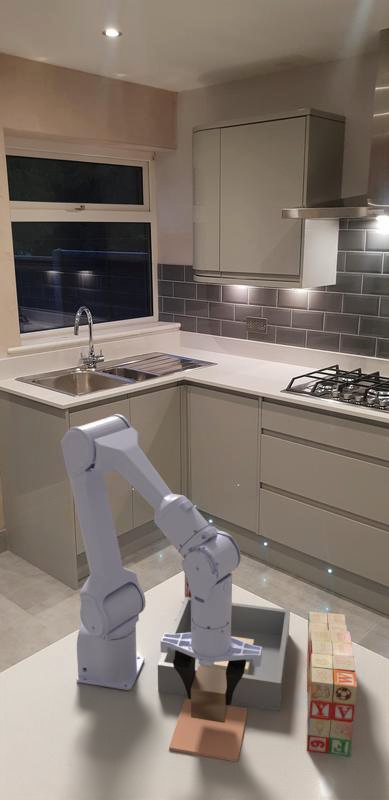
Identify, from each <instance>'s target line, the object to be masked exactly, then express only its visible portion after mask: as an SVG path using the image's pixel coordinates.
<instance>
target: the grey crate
mask: <svg viewBox="0 0 389 800" xmlns="http://www.w3.org/2000/svg"><path fill="white" fill-rule="evenodd" d="M290 615H291V610H290V609H283V608H276V607H267V606H259V605H253V604H245V603H237V602H232V612H231V637H233V638H236V639H238V640H241V641H243V642H246V643H248V644H251V645H255V646H260V647H262V659H261V664H260V667H257V666H253V663H251V662H246V666H245V671H244V674H243V676H242V678H241V680H240V681H239V682H238V684H237V686H236V688H235V690H234V692H233V697H232V702H231V704H234V705H235V704H236V705H240V706H241V705H242V706H247V707H248V706H249V707H255V708H261V709H267V710H271V711H272V710H273V711H280V709H281V702H282V701H281V700H282V692H283V685H284V677H285V669H286V668H285V667H286V660H287V659H286V658H287V651H288V645H289V636H290V619H291V616H290ZM179 633H191V597H185V596H184V599H183V602H182V604H181V606H180V609H179V611H178V614H177V617H176V619H175V621H174V624H173V626H172V629H171V631H170V633H169V634H179ZM174 658H175V651H169V652H168V653H162V652H161V655H160V658H159V660H158V662H157V692H160V693H167V694H172V695H179V696H184V697H185V696H186V697H188V695H187V691H186V688H185V685H184V683H183V681H182V679H181V677H180V675H179V673H178V672H177V671H176V669H175V668H174V665H173V661H174ZM228 662H229V661H222V662H214V664H213V666H204V665H200V664H199V659H196V661H195V675H196V671H197V668H198V666H201V667H208V668H215V669H221V670H226V669H227V665H228Z"/></svg>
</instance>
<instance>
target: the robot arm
mask: <svg viewBox="0 0 389 800" xmlns="http://www.w3.org/2000/svg"><path fill="white" fill-rule="evenodd" d="M139 438H140V437H139V433H138V431H137V430H136V429H135V428H134V427H133V426H132V424H131V423H130V421H129V420H128V419H127V417H125V416H124V415H122V414H120V413H116V414H112V415H110V416H108V417H104V418H102V419H99V420H96V421H92V422H90V423H89V422H88V423H86V424H82V425H79V426H72V427H70V428H69V429H68V430H67V431H66V432H65V434H64V436H63V437H62V439H61V441H60V446H61V451H62V455H63V460H64V464H65V469H66V473H67V477H68V479H69V482H70V487H71V490H72V495H73V500H74V501H73V502H74V504H75V509H76V514H77V519H78V523H79V528H80V532H81V537H82V538H81V539H82V542H83V547H84V551H85V557H86V560H87V565H88V569H89V576H88V578H86V579H87V580H86V581H85V583H84V584H83V586H82V588H81V589H80V592H79V593H78V594H79V600H80V609H79V614H80V620H81V625H80V628H79V630H78V635H77V638H76V639H77V640H76V655H77V656H76V658H77V662H76V663H77V677H76V682H77V683H81V684H82V683H83V684H88V685H93V686H100V687H106V688H113V689H117V690H118V689H119V690H125V691H130V690H132V689H133V687H134V685H135V682H136V680H137V677H138V676H139V673H140V671H141V668H142V667H143V664H144V663H145V657H144V656H137V623H138V622H139V621H140V619H139V617H140V616H139V614H141V613H143V611H144V610H145V608H146V604H147V603H146V597H145V593H144V590H143V588H142V587H141V585H140V583H139V580H138V577H137V573H136V572H135V571H133V570H131V569H128V568H126V567H124V566H123V561H122V555H121V551H120V546H119V542H118V536H117V532H116V528H115V523H114V522H115V521H114V517H113V513H112V508H111V502H110V499H109V494H108V490H107V484H106V479H105V475H106V473H109V472H112V473H119V474H120V475H121V476H122V477H123V478H124V479H125V480H126V481H127V482H128V483H129V484H130V485H131V486H132V487H133V488H134V489H135V490H136V491H137V492H138V494H140V495H141V496H142V499H144V500H145V501H146V502H147V503H148V504H149V505H150V506H151V507H152V508H153V509H154V511H153V512H154V515H153V521H154V523H155V525H156V526H157V527H158V528H159V529H160V530H161V532H162V533H163V534H164V536H165V537H166V539H168V541H169V542H170V544H171V545H172V546H173V547H174V548H175V549H176V550H177V552H178V553H179V554H180V556H182V558H183V560H181V567H182V570H183V573H184V576H185V575H186V577H187V579H188V582H189V590H190V593H191V633H179V634H170V633H167V632H164V633H163V634H162V637H161V640H160V653H161V654H162V653H168V652H169V651H175V658H174V661H173V665H174V668H175V669H176V671H177V672H178V673H179V675H180V677H181V679H182V681H183V683H184V685H185V688H186V691H187V695H188V696H187V699H190V700H191V687H192V684H193V681H194V678H195V661H196V659H199V664H200V665H204V666H213V664H214V662H222V661H229V662H228V665H227V669H226V681H227V692H226V705H229V706H232V703H231V702H232V697H233V692H234V690H235V688H236V686H237V684H238V682H239V681H240V680H241V678H242V676H243V674H244V671H245V666H246V662H251V663H253V666H257V667H260V664H261V659H262V647H260V646H255V645H251V644H248V643H246V642H243V641H241V640H238V639H236V638H233V637H231V612H232V603H233V602H232V600H233V599H232V598H233V595H232V594H233V573H232V572H233V571H235V570H236V569H237V568H238V567H239V566H240V563H241V559H242V553H241V549H240V547H239V545H238V543H237V542H236V540H235V539H234V536H232V535H231V534H229V533H228V532H226V531H223V530H220V529H218V528H217V527H216V526H214V525H212V526H211V525H210V523H209V522H208V521H207V520H206V519H205V518H204V516H203V515H202V514H201V513H200V512H199V511H198V509H197V508H196V507H195V506H194V504H193V502H191V500H190V499H188V498H187V497H186V496H185V495H183V494H175V493H173V492H172V491H171V489H170V488H169V487H168V485H167V483H166V482H165V481H164V479H163V478H162V476H160V474H159V472H158V471H157V470H156V468H155V467H154V466H153V465H152V463H151V462H150V460H149V459H148V457H147V455H146V454H145V452H144V451H143V450H142V449H141V447H140V446H139V445H140V444H139V443H140V442H139Z"/></svg>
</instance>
